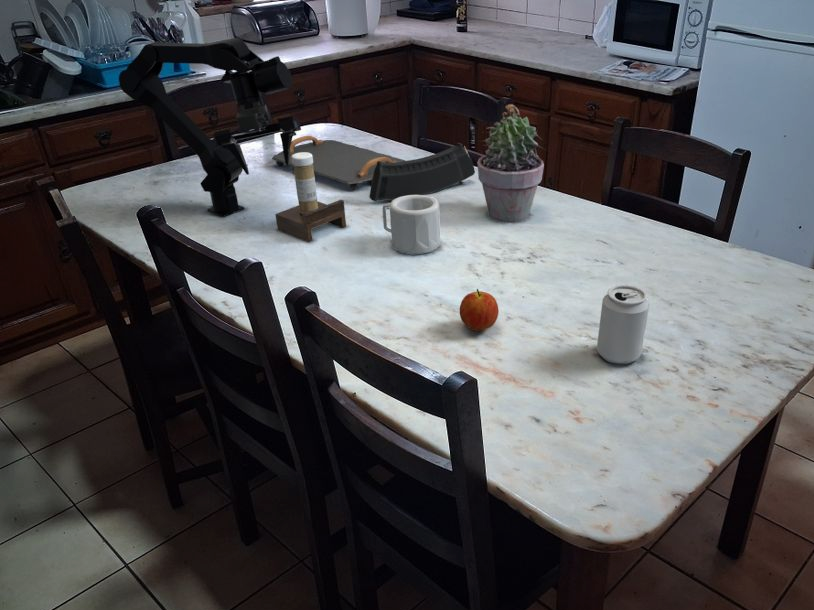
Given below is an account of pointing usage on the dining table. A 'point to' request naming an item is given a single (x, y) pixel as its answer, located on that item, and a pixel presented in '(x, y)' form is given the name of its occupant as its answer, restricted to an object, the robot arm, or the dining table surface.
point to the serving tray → (338, 160)
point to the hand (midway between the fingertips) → (267, 170)
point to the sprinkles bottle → (305, 181)
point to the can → (622, 324)
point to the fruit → (479, 310)
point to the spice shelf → (310, 219)
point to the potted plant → (510, 168)
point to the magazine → (421, 174)
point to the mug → (414, 224)
